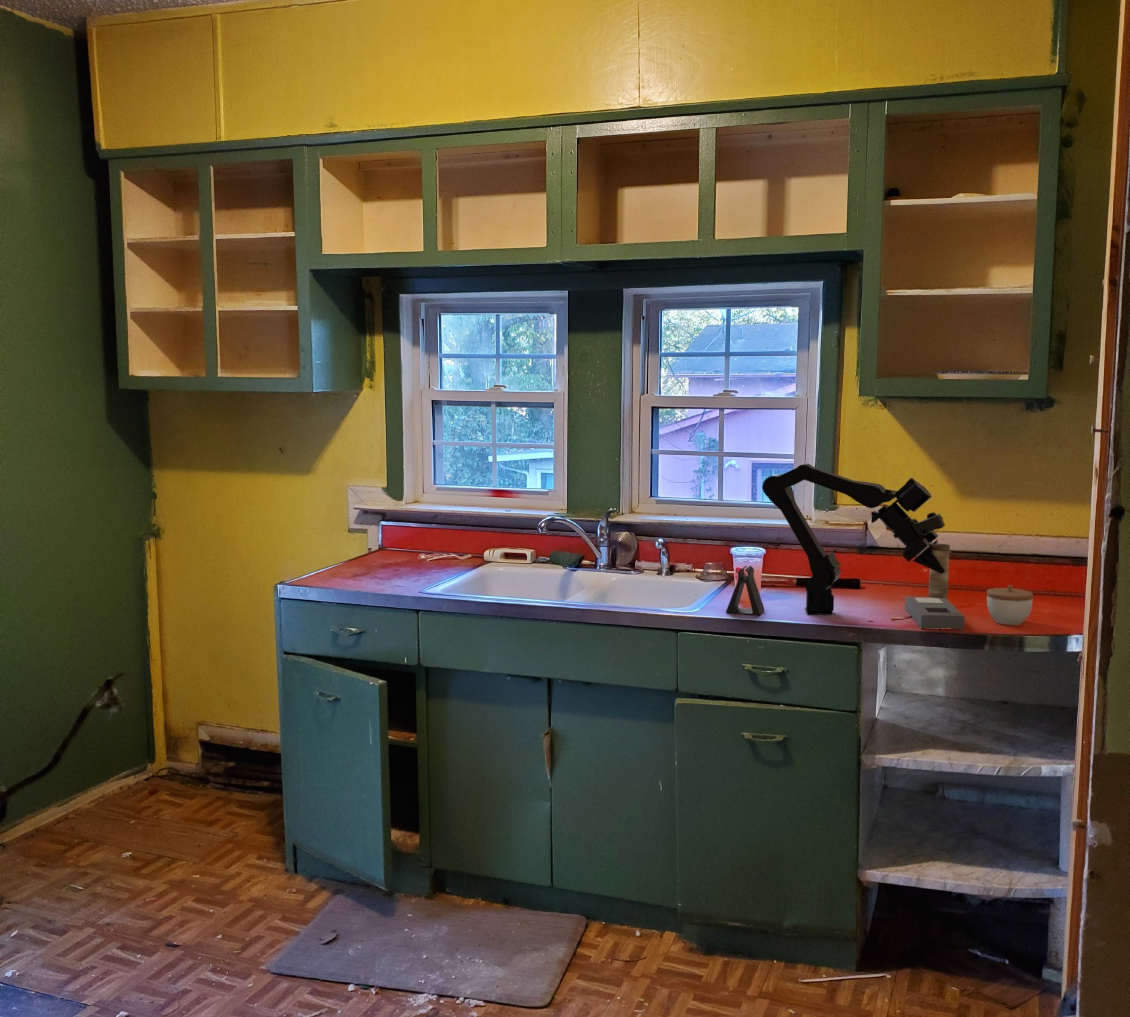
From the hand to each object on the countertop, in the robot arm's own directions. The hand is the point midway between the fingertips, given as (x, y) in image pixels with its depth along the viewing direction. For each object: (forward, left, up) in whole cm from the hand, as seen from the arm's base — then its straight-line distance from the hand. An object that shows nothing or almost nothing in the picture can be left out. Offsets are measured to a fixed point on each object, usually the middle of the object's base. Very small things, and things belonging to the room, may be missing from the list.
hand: (944, 570), depth 260 cm
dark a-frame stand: (-48, +8, -14) cm, 51 cm away
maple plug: (-1, 0, -7) cm, 7 cm away
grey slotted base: (-1, +5, -13) cm, 14 cm away
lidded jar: (+17, +4, -14) cm, 22 cm away
